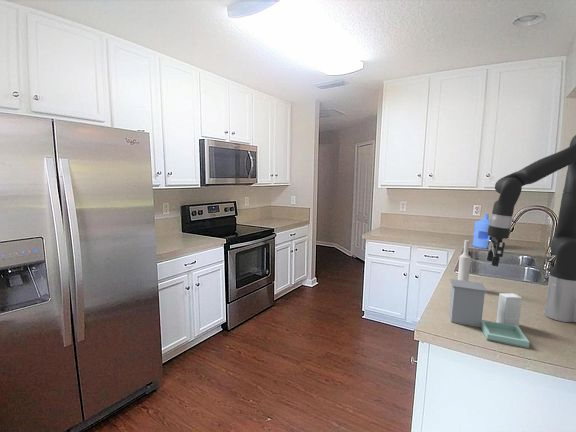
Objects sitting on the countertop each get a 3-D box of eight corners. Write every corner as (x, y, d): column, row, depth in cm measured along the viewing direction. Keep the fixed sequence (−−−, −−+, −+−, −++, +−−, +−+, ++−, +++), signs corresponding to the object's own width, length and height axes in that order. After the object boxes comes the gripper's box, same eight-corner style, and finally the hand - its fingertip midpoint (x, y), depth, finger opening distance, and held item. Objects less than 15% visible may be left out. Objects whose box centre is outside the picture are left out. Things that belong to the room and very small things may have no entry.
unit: (478, 318, 123) (482, 283, 121) (483, 328, 114) (487, 290, 112) (447, 312, 127) (450, 278, 125) (449, 322, 118) (453, 286, 117)
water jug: (468, 244, 264) (471, 213, 261) (485, 245, 265) (489, 213, 262) (480, 249, 249) (484, 215, 245) (498, 249, 250) (502, 215, 246)
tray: (517, 331, 113) (518, 326, 112) (528, 348, 101) (529, 342, 101) (479, 325, 117) (480, 319, 117) (486, 340, 106) (487, 334, 106)
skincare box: (510, 322, 120) (514, 293, 119) (518, 327, 116) (522, 297, 114) (495, 322, 120) (498, 293, 118) (503, 327, 116) (507, 297, 114)
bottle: (462, 289, 154) (467, 241, 151) (454, 286, 159) (458, 239, 156) (470, 289, 156) (475, 241, 152) (462, 285, 161) (466, 239, 157)
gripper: (516, 229, 118) (507, 269, 121) (505, 225, 131) (497, 261, 134) (493, 226, 121) (485, 265, 123) (485, 222, 134) (478, 257, 136)
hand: (492, 263), depth 128 cm, fingers open, 8 cm apart
